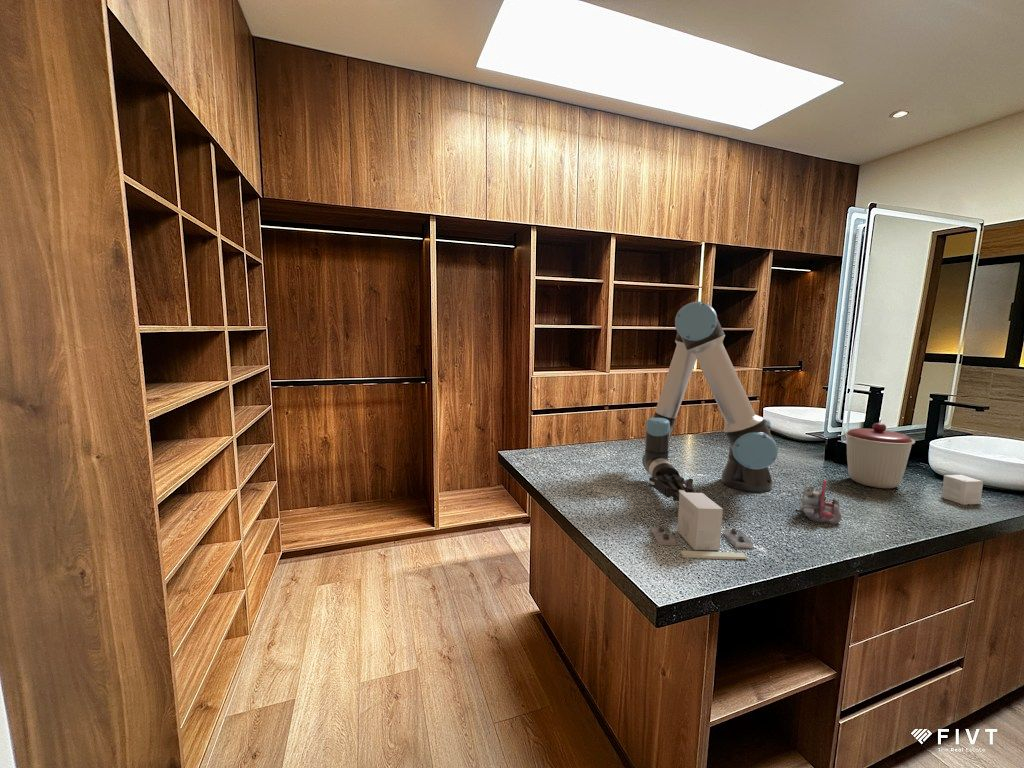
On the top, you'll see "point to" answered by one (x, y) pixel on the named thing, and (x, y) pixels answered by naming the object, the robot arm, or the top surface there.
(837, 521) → the grey red lumpy piece
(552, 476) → the top surface
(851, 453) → the canister
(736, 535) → the block
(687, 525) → the skincare box
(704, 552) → the cream long thin bar
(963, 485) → the skincare box
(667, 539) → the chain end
